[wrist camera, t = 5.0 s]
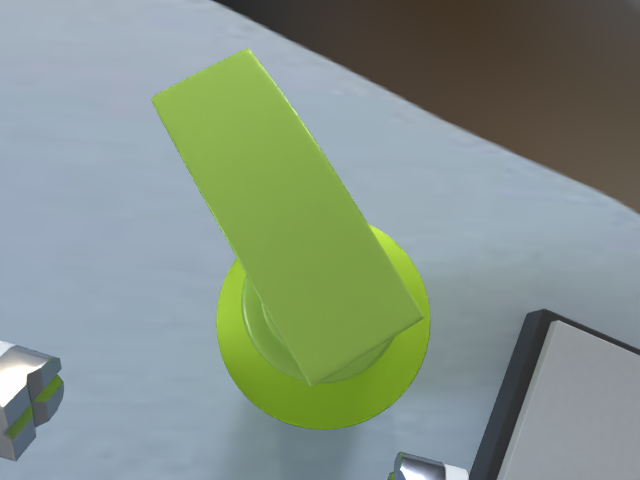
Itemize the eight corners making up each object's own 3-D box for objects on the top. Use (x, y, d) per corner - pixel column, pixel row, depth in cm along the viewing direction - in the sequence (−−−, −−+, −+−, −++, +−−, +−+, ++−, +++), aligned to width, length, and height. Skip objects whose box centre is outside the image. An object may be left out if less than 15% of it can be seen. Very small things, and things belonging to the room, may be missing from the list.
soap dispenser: (334, 250, 28) (349, -28, 8) (402, 362, 26) (618, 341, 7) (240, 304, 27) (18, 140, 8) (304, 422, 26) (231, 591, 6)
